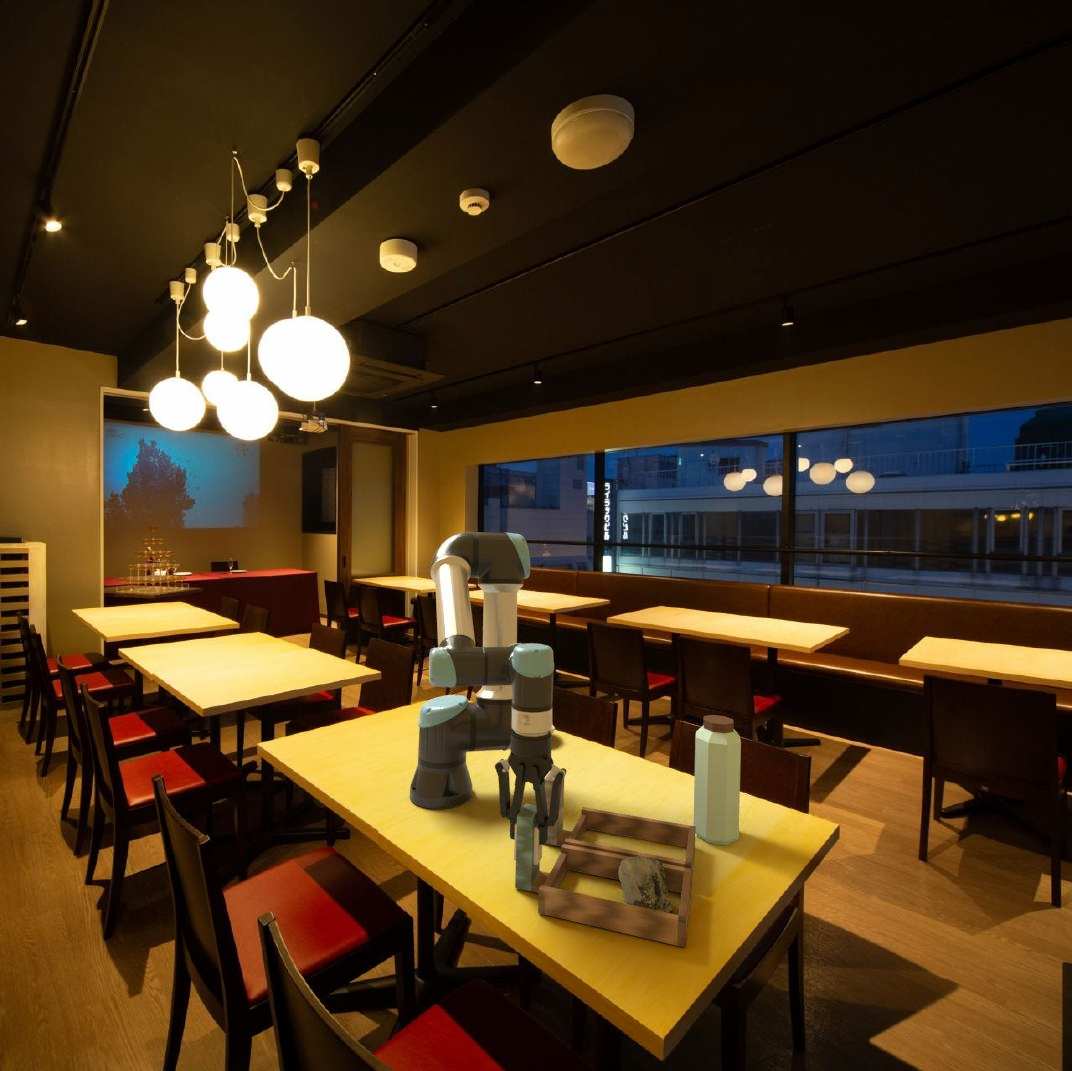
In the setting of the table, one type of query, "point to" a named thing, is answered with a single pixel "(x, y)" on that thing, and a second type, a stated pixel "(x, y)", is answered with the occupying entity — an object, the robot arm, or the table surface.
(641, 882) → the stone
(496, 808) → the table surface
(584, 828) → the empty lane
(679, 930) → the frame
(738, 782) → the water bottle
